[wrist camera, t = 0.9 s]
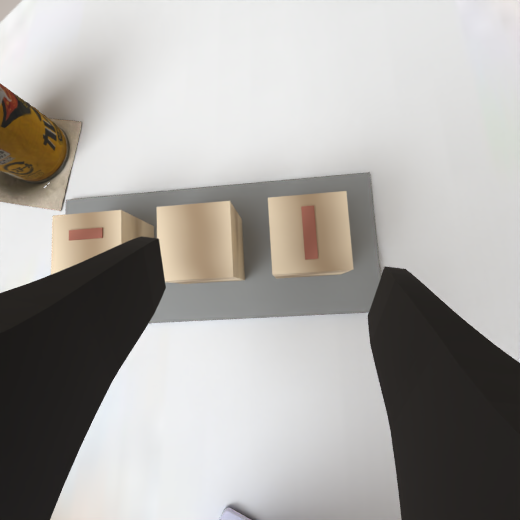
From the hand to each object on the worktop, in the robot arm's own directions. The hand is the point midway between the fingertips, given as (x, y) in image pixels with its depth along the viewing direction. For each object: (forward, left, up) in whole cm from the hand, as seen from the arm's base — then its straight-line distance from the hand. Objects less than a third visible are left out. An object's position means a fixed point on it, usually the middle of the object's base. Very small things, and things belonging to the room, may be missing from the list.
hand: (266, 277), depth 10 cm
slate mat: (0, +6, -15) cm, 16 cm away
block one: (+4, -1, -14) cm, 15 cm away
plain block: (0, +6, -14) cm, 15 cm away
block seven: (-3, +13, -14) cm, 19 cm away
